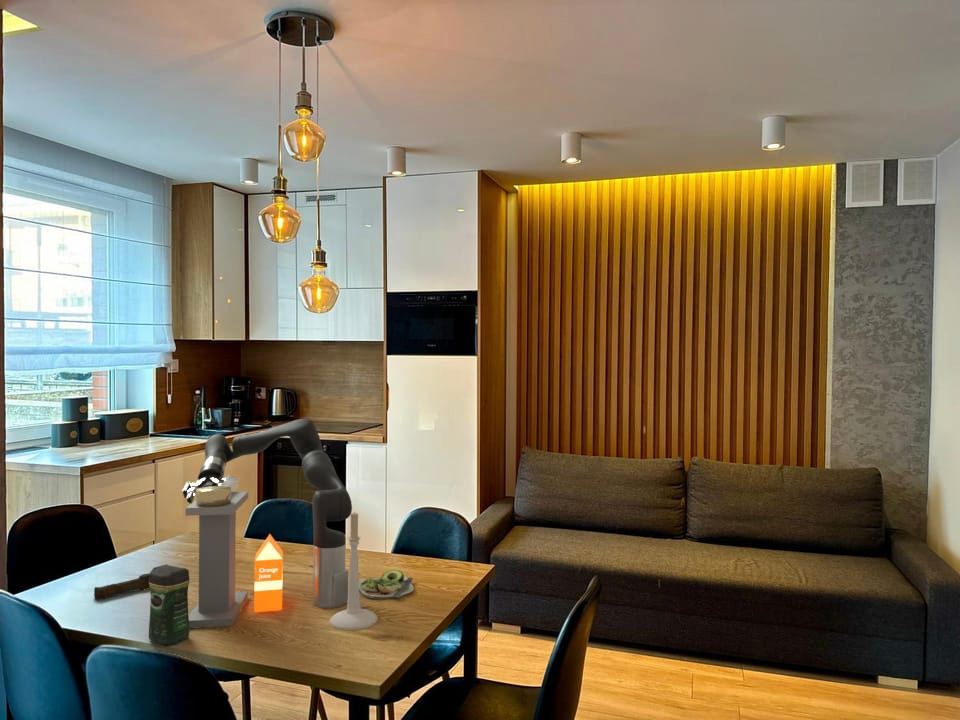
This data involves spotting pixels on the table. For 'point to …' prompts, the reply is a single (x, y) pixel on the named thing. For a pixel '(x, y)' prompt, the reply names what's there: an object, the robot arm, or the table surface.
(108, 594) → the hand tool
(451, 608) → the table surface
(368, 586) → the avocado toast plate
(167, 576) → the coffee jar
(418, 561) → the table surface
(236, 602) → the shelf
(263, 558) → the orange juice
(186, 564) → the table surface
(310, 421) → the robot arm
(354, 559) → the candlestick
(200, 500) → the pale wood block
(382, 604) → the table surface
